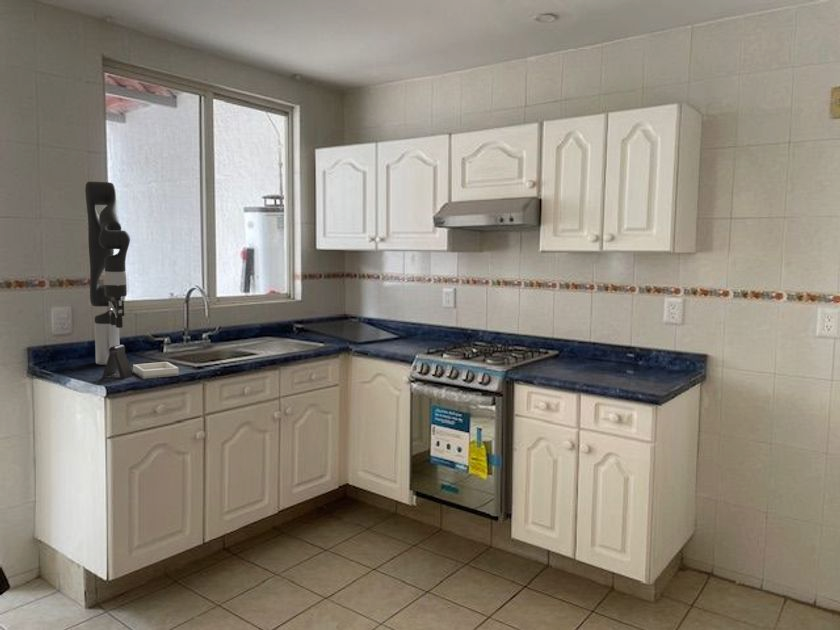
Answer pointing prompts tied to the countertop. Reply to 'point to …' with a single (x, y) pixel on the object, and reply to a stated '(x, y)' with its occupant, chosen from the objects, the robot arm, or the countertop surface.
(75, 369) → the countertop surface
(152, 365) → the tray
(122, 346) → the dark tent sign
